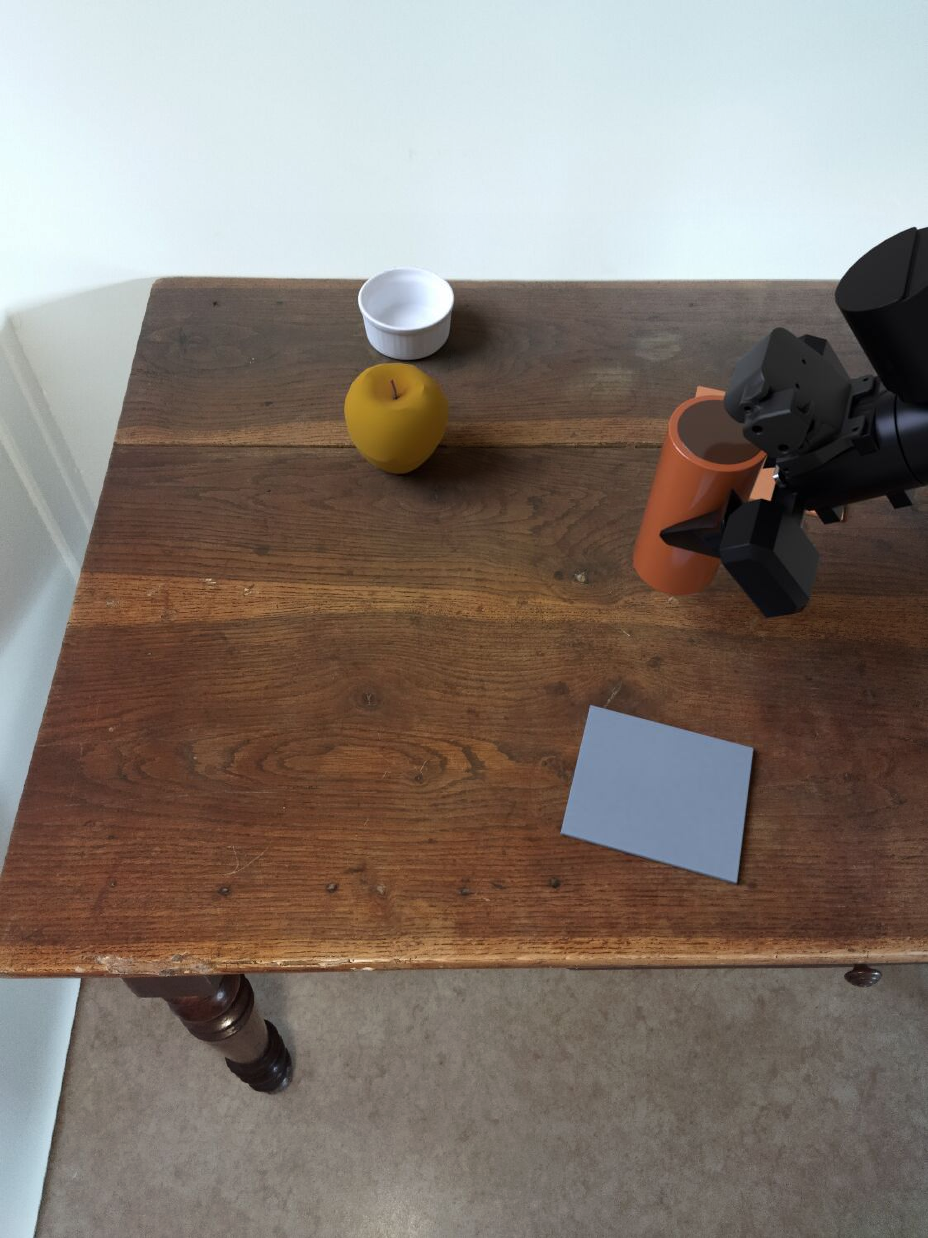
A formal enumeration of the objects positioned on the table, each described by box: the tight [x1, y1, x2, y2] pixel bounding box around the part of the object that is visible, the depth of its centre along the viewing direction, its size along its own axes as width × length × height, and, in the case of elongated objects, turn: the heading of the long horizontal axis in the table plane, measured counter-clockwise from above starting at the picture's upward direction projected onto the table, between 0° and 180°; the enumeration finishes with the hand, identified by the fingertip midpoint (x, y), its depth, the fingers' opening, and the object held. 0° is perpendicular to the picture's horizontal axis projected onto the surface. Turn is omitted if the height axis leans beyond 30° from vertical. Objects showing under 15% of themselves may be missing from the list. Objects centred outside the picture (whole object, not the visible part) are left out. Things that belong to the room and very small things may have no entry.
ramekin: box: [357, 266, 455, 361], centre depth 84 cm, size 9×9×4 cm
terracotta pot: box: [632, 395, 768, 596], centre depth 59 cm, size 6×6×14 cm
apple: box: [343, 362, 450, 475], centre depth 74 cm, size 8×8×9 cm
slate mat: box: [560, 704, 754, 885], centre depth 62 cm, size 12×10×1 cm
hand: (675, 501), depth 60 cm, fingers closed on terracotta pot, 6 cm apart
